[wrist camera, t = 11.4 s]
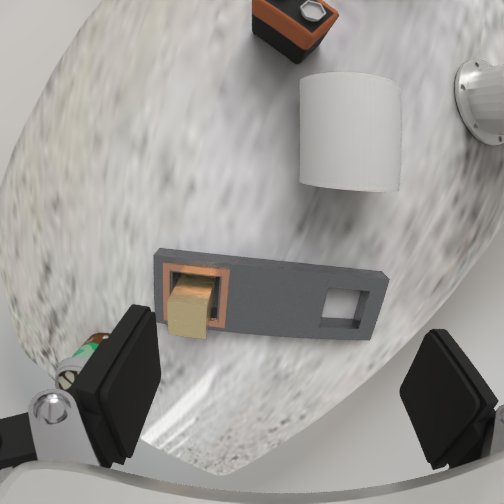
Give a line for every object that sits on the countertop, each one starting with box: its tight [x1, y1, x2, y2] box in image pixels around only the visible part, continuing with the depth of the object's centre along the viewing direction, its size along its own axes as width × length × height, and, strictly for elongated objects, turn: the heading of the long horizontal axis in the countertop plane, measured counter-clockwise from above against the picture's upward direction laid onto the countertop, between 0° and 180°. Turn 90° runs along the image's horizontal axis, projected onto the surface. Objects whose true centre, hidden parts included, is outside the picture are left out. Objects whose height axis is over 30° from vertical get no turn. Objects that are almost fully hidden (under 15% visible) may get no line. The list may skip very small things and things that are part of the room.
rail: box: [154, 248, 390, 340], centre depth 36 cm, size 28×9×3 cm, turn 84°
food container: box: [55, 333, 110, 392], centre depth 36 cm, size 12×6×10 cm, turn 144°
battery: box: [252, 0, 339, 64], centre depth 23 cm, size 4×7×10 cm, turn 50°
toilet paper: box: [299, 72, 402, 192], centre depth 26 cm, size 10×10×10 cm
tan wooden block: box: [167, 273, 216, 339], centre depth 33 cm, size 4×4×8 cm
